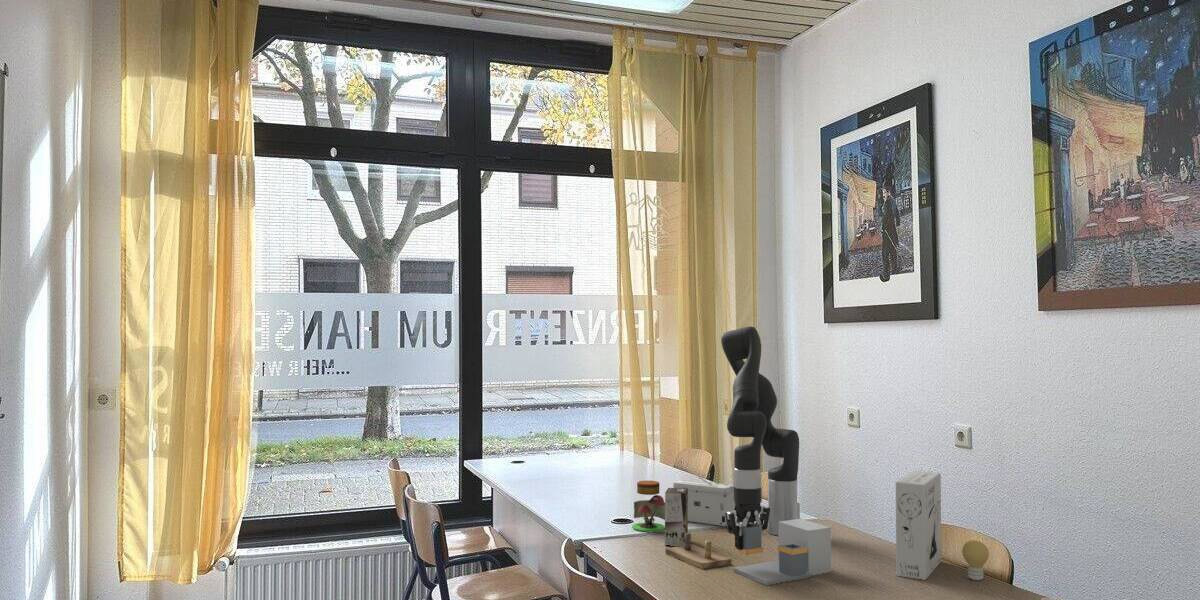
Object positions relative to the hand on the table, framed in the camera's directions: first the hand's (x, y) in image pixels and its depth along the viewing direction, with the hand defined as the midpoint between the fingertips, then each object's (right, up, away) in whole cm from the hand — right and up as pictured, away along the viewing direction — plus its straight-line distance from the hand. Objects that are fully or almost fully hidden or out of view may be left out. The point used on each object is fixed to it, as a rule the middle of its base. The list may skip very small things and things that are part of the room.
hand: (748, 547), depth 232 cm
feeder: (+9, -7, -1) cm, 11 cm away
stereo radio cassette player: (-5, -9, +59) cm, 60 cm away
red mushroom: (-24, -8, +50) cm, 56 cm away
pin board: (-12, -7, +13) cm, 19 cm away
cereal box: (+48, -7, +4) cm, 48 cm away
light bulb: (+59, -7, -6) cm, 60 cm away
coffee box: (-17, -8, +31) cm, 36 cm away
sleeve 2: (+11, -5, -5) cm, 13 cm away
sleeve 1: (0, -1, 0) cm, 1 cm away
